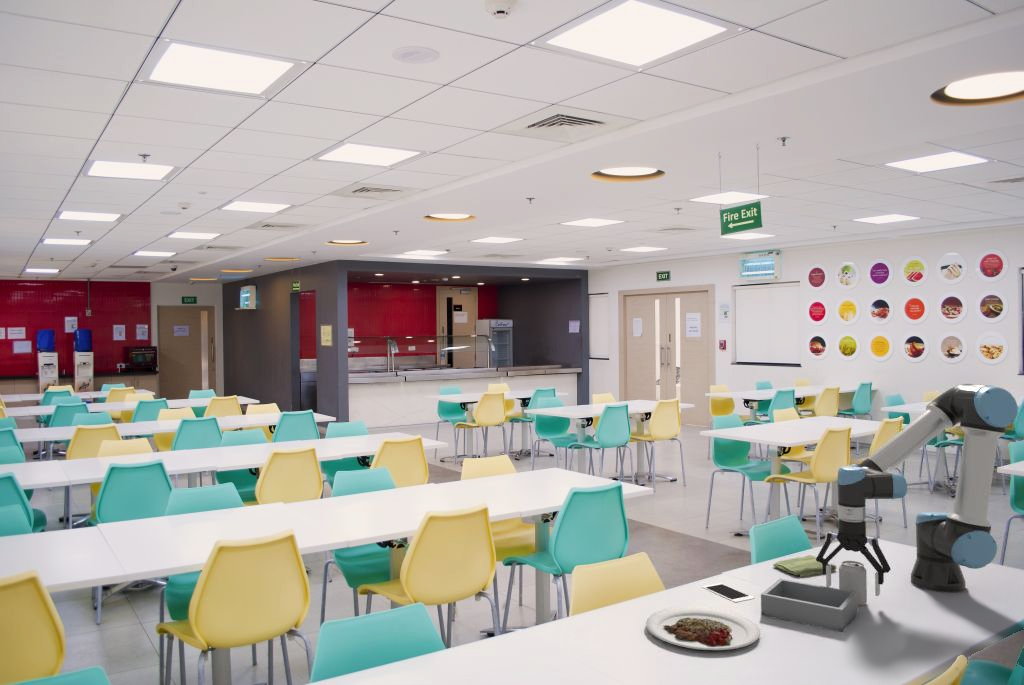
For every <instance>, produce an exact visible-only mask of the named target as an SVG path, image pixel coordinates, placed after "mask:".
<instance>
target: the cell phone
mask: <svg viewBox="0 0 1024 685" xmlns="http://www.w3.org/2000/svg"><path fill="white" fill-rule="evenodd" d="M701 588H703V589H705V590H706V591H708V592H711V593H713V594H715V595H717V596H720V597H721V598H725V599H727V600H729V601H730V602H732V603H740V602H741V603H742V602H745V601H750V600H754V599H755V597H754V596H752V595H750V594H747V593H745V592H742V591H740V590H738V589H736V588H733V587H731V586H728V585H726V584H724V583H722V582H718V583H713V584H707V585H703V586H702V585H701Z"/></svg>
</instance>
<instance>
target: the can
mask: <svg viewBox="0 0 1024 685" xmlns="http://www.w3.org/2000/svg"><path fill="white" fill-rule="evenodd" d="M864 565H865V564H864V563H862V562H860V561H857V560H856V561H855V560H842V561H841V562H840V565H839V566H838V589H841V590H847V591H853V592H857V607H863V606H864V605H865V604H867V602H868V595H867V594H868V593H867V592H868V590H867V586H868V585H867V568H866V567H865V566H864Z"/></svg>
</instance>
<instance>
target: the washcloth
mask: <svg viewBox="0 0 1024 685" xmlns="http://www.w3.org/2000/svg"><path fill="white" fill-rule="evenodd" d="M816 558H817V556H816V555H811V554H807V555H804V556H798V557H795V558H789V559H783V560H782V559H781V560H778V561H776V562H775V563H773V567H775V569H778V570H779V571H783V572H785V573H788V574H792V575H794V576H797V577H799V578H806V577H811V576H817V575H823V565H822V563H820V562H817V561H816ZM828 563H829V564H831V573H833V572H835V571H836V570H837V566H836V564H833V563H831V562H828Z"/></svg>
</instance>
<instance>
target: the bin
mask: <svg viewBox="0 0 1024 685" xmlns="http://www.w3.org/2000/svg"><path fill="white" fill-rule="evenodd" d="M760 611H761V612H760V615H761V616H763V617H768V618H773V619H779V620H781V621H782V620H783V621H788V622H793V623H798V624H802V625H807V626H810V627H811V626H812V627H817V628H820V629H825V628H826V630H830V631H834V632H840V633H844V631H845V630H846V629H847V628H848V626H849V625H850V624H849V623H851V622H852V621H853V620H854V619H855V617H856V616H857V615H858V606H857V592H853V591H847V590H841V589H839V588H835V587H831V586H830V587H826V586H823V585H818V584H812V583H808V582H807V583H806V582H802V581H801V582H800V581H794V580H790V579H789V580H788V579H785V578H784V579H783V578H779V579H777V580H776V581H775V582H774V583H772V585H770V586H768V588H767V589H765V590H764V591H763V592H762V593H761V594H760ZM856 614H857V615H856ZM855 615H856V616H855ZM852 619H853V620H852ZM851 620H852V621H851ZM848 624H849V625H848Z"/></svg>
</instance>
